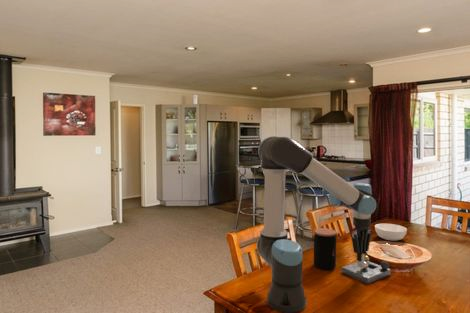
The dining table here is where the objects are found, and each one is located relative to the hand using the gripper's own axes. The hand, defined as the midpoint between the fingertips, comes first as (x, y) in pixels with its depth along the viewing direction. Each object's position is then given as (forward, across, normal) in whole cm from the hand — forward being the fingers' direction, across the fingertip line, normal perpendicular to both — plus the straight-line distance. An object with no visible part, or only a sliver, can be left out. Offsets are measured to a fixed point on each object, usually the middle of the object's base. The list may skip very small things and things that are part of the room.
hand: (360, 267), depth 152 cm
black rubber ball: (0, +11, -5) cm, 12 cm away
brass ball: (0, +11, +5) cm, 12 cm away
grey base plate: (+4, +4, 0) cm, 6 cm away
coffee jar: (+4, -6, +16) cm, 18 cm away
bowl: (+5, +62, +24) cm, 66 cm away
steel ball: (0, +3, 0) cm, 3 cm away
